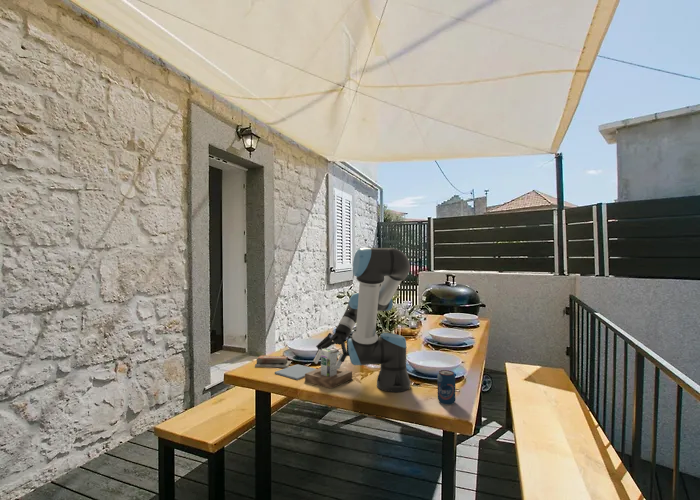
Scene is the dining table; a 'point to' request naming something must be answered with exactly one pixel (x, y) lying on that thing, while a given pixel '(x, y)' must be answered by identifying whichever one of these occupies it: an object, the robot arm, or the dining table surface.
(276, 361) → the packaged product
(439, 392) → the soda can
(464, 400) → the dining table surface
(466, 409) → the dining table surface
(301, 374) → the slate pad
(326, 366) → the syrup box
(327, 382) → the walnut holder
